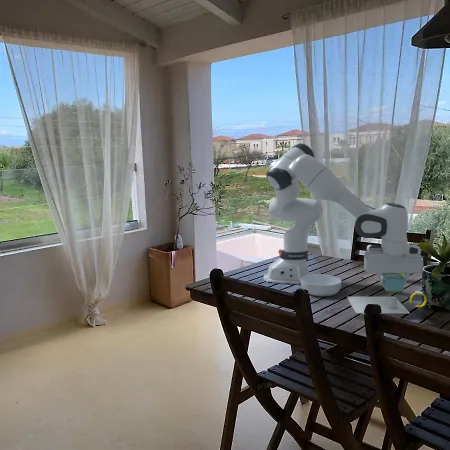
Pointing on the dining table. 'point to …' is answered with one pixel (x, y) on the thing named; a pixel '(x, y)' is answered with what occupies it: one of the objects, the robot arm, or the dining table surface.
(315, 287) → the cereal bowl
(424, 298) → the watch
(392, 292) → the plant pot
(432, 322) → the dining table surface
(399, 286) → the teal square box
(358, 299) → the post base
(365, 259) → the medicine bottle
